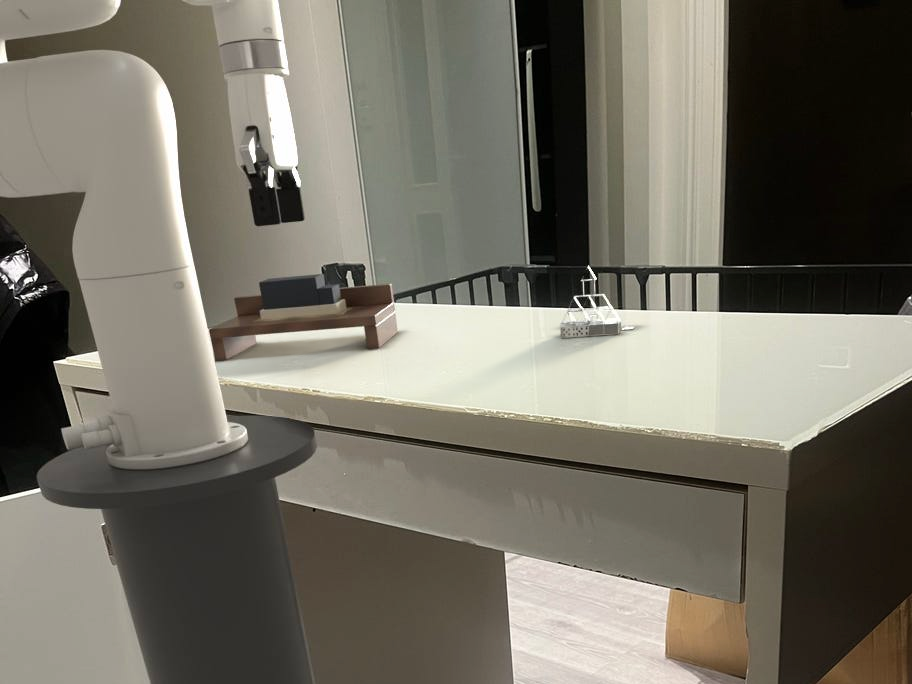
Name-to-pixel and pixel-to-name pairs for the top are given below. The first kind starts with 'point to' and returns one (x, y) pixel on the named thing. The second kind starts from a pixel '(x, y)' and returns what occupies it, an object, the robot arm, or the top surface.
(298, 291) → the stepped dark grey block
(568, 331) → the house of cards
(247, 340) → the wooden bench
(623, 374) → the top surface
